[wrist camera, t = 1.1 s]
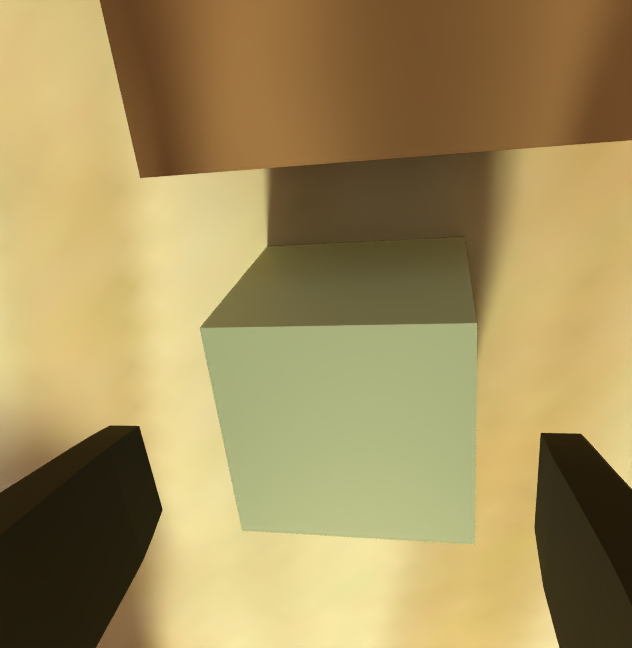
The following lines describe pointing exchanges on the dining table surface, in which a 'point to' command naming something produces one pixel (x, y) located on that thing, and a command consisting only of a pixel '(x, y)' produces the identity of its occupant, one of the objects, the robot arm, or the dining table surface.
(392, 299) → the cube
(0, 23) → the dining table surface
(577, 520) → the robot arm
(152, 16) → the base block
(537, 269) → the dining table surface
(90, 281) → the dining table surface
